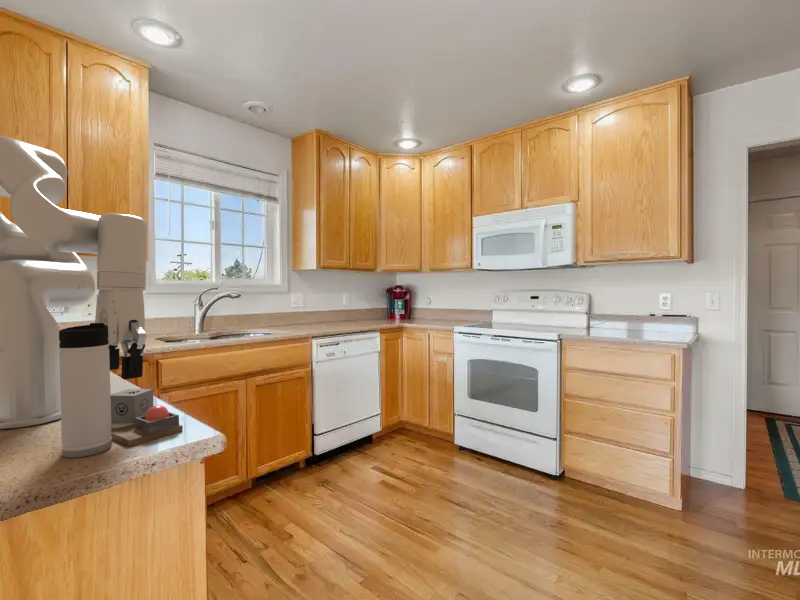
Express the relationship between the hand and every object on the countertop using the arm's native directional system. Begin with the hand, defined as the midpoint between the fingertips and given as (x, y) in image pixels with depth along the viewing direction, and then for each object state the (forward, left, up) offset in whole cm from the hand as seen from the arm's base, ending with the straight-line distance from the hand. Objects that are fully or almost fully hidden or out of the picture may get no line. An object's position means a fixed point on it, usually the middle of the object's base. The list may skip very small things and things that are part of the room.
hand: (120, 373), depth 76 cm
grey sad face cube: (+1, +1, -9) cm, 9 cm away
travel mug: (+9, -8, -10) cm, 15 cm away
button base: (+5, 0, -10) cm, 11 cm away
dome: (+10, +2, -9) cm, 13 cm away
